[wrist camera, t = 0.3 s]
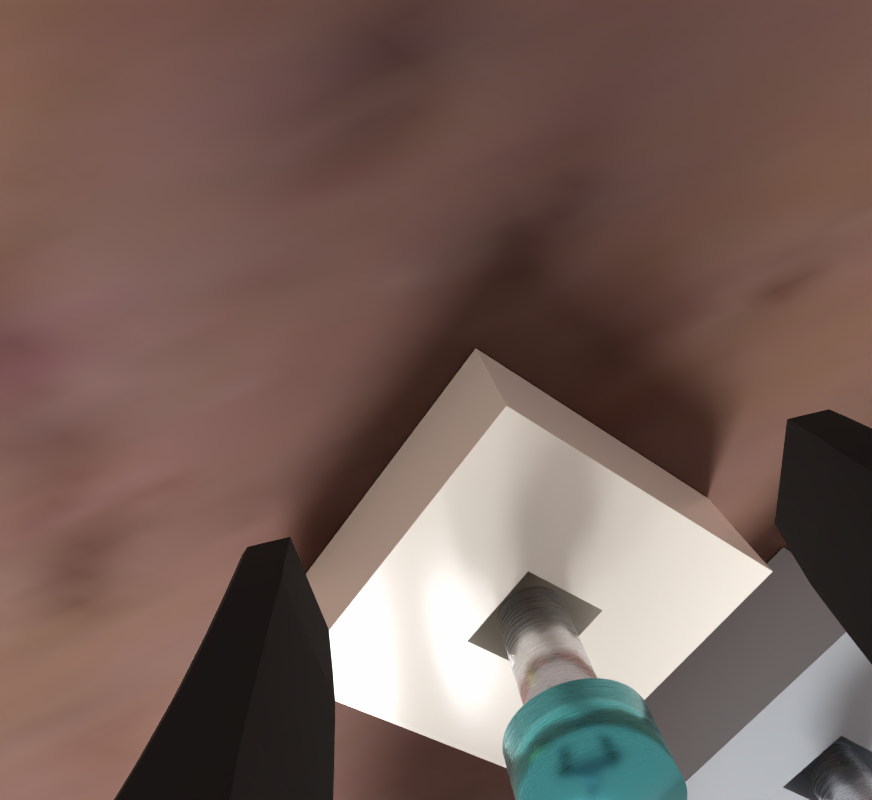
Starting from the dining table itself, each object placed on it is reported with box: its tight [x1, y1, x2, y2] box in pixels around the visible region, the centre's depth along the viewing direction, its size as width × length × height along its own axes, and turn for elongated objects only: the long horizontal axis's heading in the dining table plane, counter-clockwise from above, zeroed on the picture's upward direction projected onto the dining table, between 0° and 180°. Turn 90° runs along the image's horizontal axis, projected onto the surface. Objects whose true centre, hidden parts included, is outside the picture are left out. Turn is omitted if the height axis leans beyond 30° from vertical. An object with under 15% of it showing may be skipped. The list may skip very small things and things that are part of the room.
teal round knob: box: [497, 586, 688, 800], centre depth 18 cm, size 4×4×6 cm
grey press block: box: [644, 547, 872, 800], centre depth 27 cm, size 10×10×4 cm
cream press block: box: [306, 348, 773, 768], centre depth 22 cm, size 10×10×4 cm
